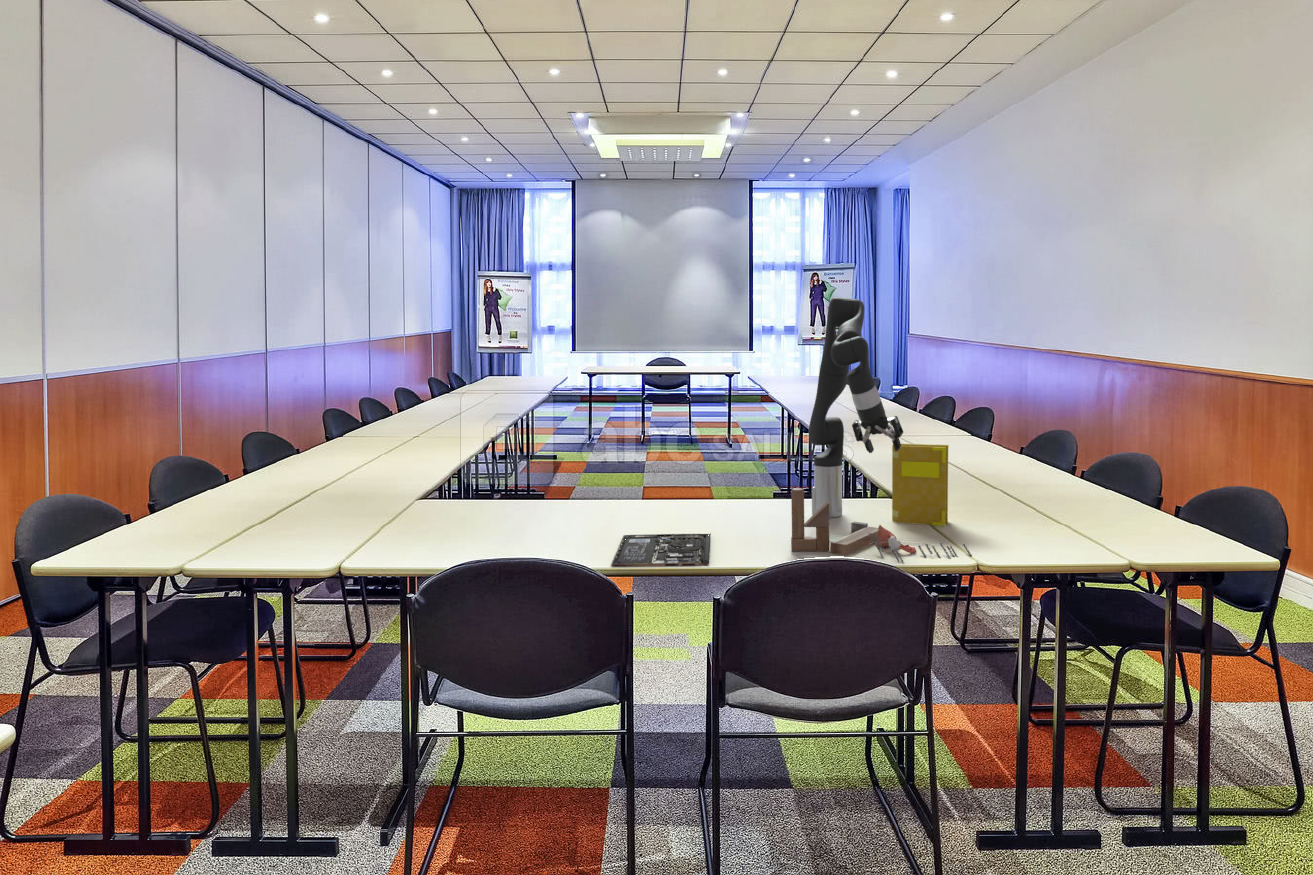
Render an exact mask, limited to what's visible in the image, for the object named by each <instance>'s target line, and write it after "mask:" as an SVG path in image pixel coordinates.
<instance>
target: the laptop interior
mask: <svg viewBox="0 0 1313 875" xmlns="http://www.w3.org/2000/svg"><path fill="white" fill-rule="evenodd" d="M708 535H709V536H708ZM711 535H712V534H711V532H710V533H664V534H663V533H662V534H661V533H659V534H658V533H657V534H654V533H653V534H624V535H622V537H621V540H620V542H619V545H618V547H617V550H616V552H615V554H614V556H613V559H612V561H611V563H610V564H611V566H614V567H619V566H621V567H669V566H678V567H684V566H686V567H687V566H688V567H689V566H695V567H697V566H698V567H699V566H701V567H703V566H704V567H705V566H706V565H708V564H710V555H709V553H710V554H711ZM658 538H659V539H658ZM625 539H626V540H625Z"/></svg>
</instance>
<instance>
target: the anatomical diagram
mask: <svg viewBox="0 0 1313 875" xmlns="http://www.w3.org/2000/svg"><path fill="white" fill-rule="evenodd" d="M877 528H878V537H877V536H876V535H875V533H873V534H874V536H875V538H876V540H877V541H875V540H874V537H873V536H872V534H871V533H869V534H870V535H871V538H872V539H873V541H874V543H873V544H874V545H875V547H876V549H877V550H878V553H879V554H880V556H881V558H882V559H883V558H884V554H883V553H882V552H885V549H884V548H890V549H891V551H892V553H893V555H894V557H895V558H896V561H897V562H898V563H900V562H901V564H903V565H904V564H905V562H904V559H902V557H901V555H900V552H899V551H900V550H902V551H905V552H906V553H908V554H914V553H915V552H917V548H916V547H918V550H919V552H921V554H922V556H923V558H924V559H925V558H927V554H926V553H925V552H924V549H922V547H921V546H922V545H919V542H920V543H923V545H924V546H925V547H926V550H927V551H928V552H929V554H930V555H933V552H934V553H935V554H936V557H938V559H942V557H941V556H940V554H939V551H937V550H936V547H935V546H940V547H941V548H942V550H943V551H944V553H945V554H946V556H947V558H948V559H949V560H951V559H952V558H955V557H956V558H959V556H958V555H957V552H956V551H955V549H954V548H953V546H952V543H951V542H949V543H947V544H951V545H950V546H949V545H945V546H944V545H943V542H940V541H939V540H937V541H938V542H937V543H939V545H937V544H935V542H933V541H932V542H930V543H933V544H935V545H931V544H927V543H926V542H923V540H922V541H920V540H913V538H911V537H910V538H908V537H906V540H908V542H912V545H913V546H914V547H912V546H911V545H910V544H909V543H908V542H906V541H904V542H903V538H898V537H897V536H896V535H895V534H894V533H892V532H891V531H889V530H888V529H886V528H884V527H883V526H882V525H881V524H879V525H878V527H877ZM909 539H910V540H909ZM911 539H912V540H911ZM924 540H929V541H931V539H928V538H927V539H925V538H924ZM913 542H914V543H913ZM916 542H918V543H916ZM962 546H963V547H964V549H965V551H966V552H967V554H968V555H969V556H970V557H972V556H973V554H971V552H970V550H969V549H968V548H967V546H966V543H962ZM945 547H946V548H947V549H946V548H945ZM931 548H932V550H933V551H932V550H931ZM880 549H881V550H880ZM947 550H948V552H947ZM950 555H951V556H952V557H950Z"/></svg>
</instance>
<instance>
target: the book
mask: <svg viewBox="0 0 1313 875" xmlns="http://www.w3.org/2000/svg"><path fill="white" fill-rule="evenodd" d="M891 449H892V450H891V451H892V453H891V456H892V458H891V460H892V461H891V462H892V463H891V466H892V467H891V469H892V471H891V472H892V474H891V477H892V479H891V480H892V481H891V484H892V485H891V487H892V488H891V489H892V490H891V494H892V495H891V496H892V498H891V506H892V507H891V510H892V511H891V512H892V513H891V521H892V522H893V523H897V524H911V525H912V524H913V525H924V526H925V525H927V526H936V527H937V526H938V527H945V526H946V524H947V523H948V520H949V518H948V517H949V515H948V513H949V511H948V510H949V509H948V508H949V505H948V503H949V500H948V498H949V494H948V493H949V444H923V443H921V444H920V443H918V444H917V443H901V447H900V449H899V450H898V451H895V448H894V445H893V444H892V445H891Z"/></svg>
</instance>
